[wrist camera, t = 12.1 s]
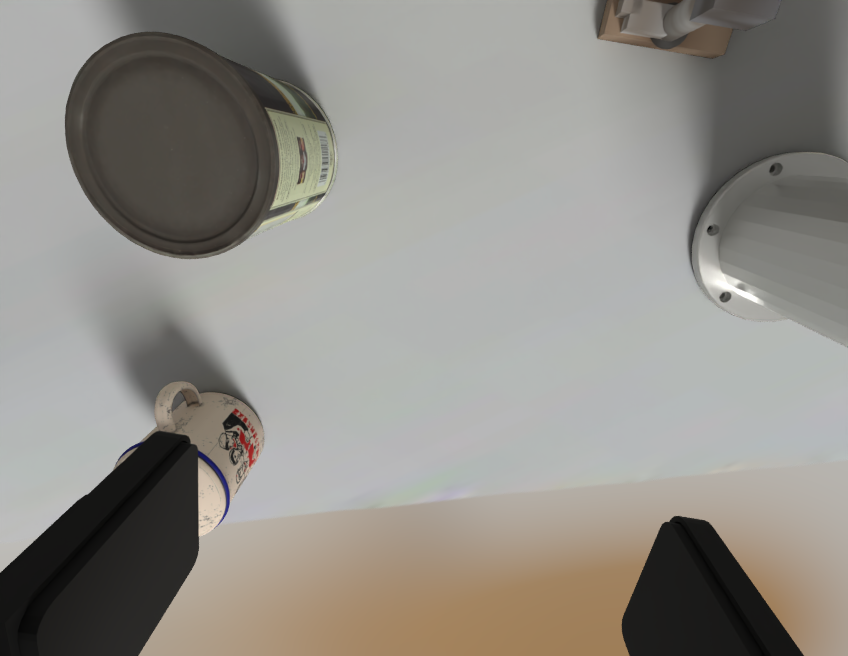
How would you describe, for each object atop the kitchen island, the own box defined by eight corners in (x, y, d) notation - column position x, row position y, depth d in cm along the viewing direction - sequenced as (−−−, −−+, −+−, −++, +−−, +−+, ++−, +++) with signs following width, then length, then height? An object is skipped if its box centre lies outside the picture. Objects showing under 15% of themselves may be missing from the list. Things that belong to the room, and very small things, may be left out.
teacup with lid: (276, 469, 46) (222, 567, 35) (186, 473, 47) (105, 570, 36) (251, 356, 42) (182, 427, 31) (153, 361, 43) (51, 432, 32)
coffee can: (179, 112, 35) (18, 86, 22) (302, 54, 34) (207, -11, 21) (244, 241, 39) (138, 287, 25) (360, 194, 37) (310, 217, 24)
